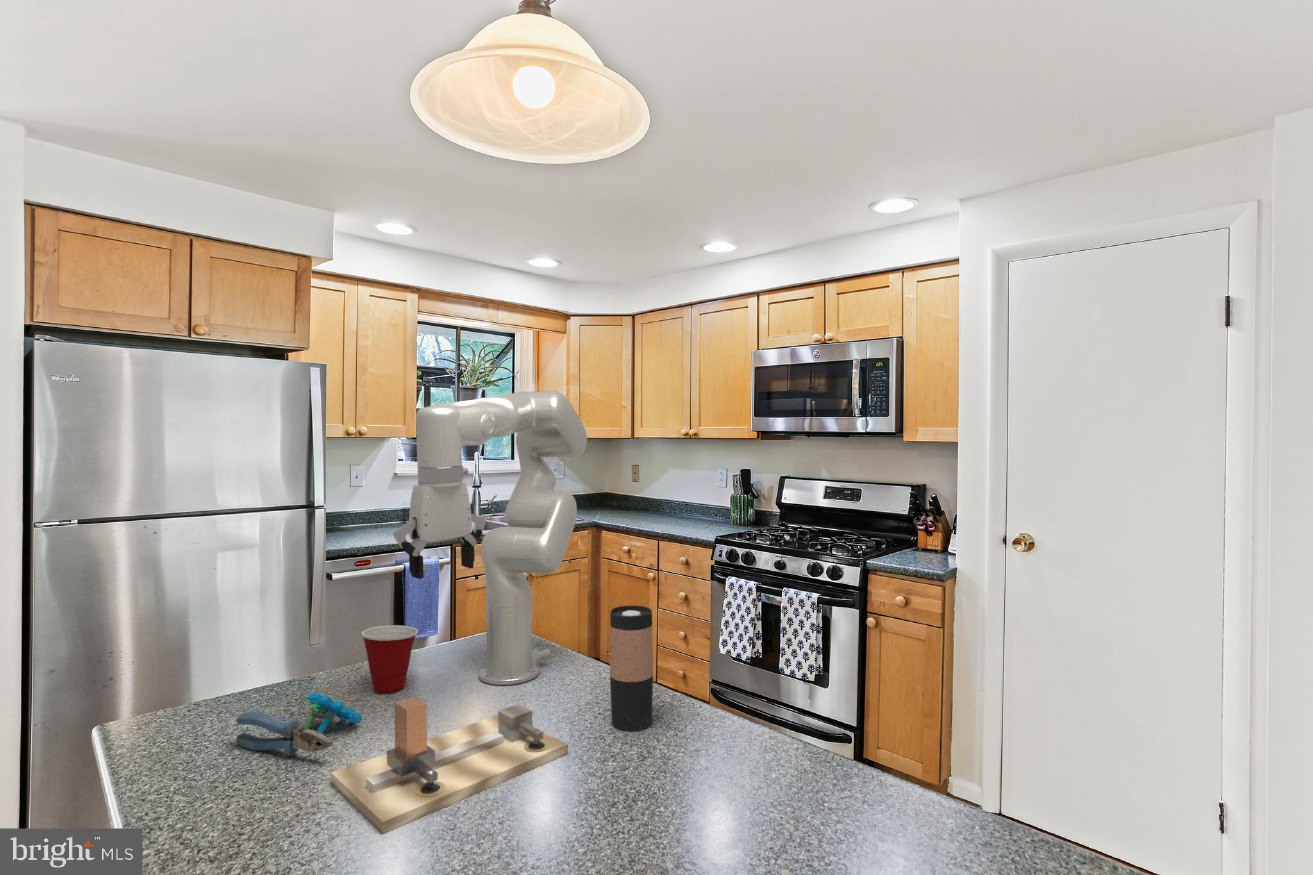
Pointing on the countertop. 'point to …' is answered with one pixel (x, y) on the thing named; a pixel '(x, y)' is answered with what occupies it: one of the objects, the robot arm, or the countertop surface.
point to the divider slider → (412, 741)
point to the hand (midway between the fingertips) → (443, 572)
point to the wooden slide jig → (450, 768)
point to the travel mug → (631, 667)
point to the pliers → (290, 732)
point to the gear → (329, 711)
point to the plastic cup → (389, 656)
